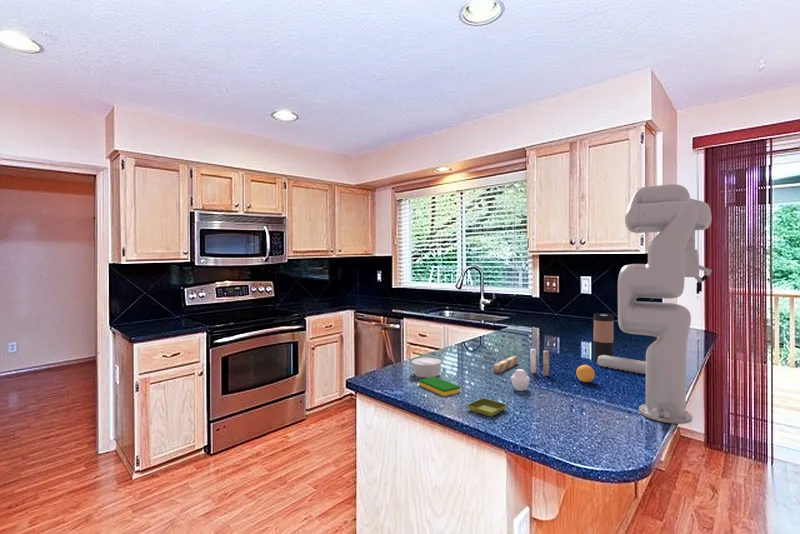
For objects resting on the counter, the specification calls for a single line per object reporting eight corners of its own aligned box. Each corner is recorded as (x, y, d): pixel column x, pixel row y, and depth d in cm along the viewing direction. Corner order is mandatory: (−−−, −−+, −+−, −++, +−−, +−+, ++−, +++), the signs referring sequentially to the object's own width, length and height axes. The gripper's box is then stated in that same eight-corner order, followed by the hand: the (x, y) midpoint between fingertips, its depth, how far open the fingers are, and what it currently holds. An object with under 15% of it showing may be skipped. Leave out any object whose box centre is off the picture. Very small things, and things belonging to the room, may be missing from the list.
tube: (594, 357, 167) (665, 369, 148) (599, 351, 170) (669, 362, 152) (596, 369, 168) (666, 382, 150) (601, 362, 171) (670, 374, 153)
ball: (592, 385, 142) (592, 368, 142) (574, 382, 146) (574, 365, 146) (596, 381, 147) (596, 364, 147) (579, 378, 151) (579, 362, 151)
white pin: (534, 373, 157) (534, 350, 157) (529, 372, 158) (529, 349, 158) (536, 372, 159) (536, 349, 158) (531, 371, 160) (531, 348, 160)
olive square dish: (466, 411, 120) (466, 404, 120) (483, 404, 126) (483, 397, 126) (491, 420, 114) (491, 412, 114) (508, 411, 120) (508, 404, 120)
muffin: (521, 385, 143) (522, 365, 143) (533, 390, 137) (533, 370, 137) (506, 387, 141) (506, 367, 141) (518, 393, 135) (518, 372, 135)
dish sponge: (444, 397, 133) (444, 390, 133) (418, 386, 144) (418, 379, 144) (460, 393, 136) (460, 386, 136) (434, 383, 148) (434, 376, 148)
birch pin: (547, 375, 154) (547, 352, 154) (542, 375, 155) (542, 351, 155) (549, 374, 156) (549, 351, 155) (544, 373, 157) (544, 350, 157)
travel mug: (589, 360, 177) (589, 313, 176) (601, 358, 180) (602, 312, 180) (604, 364, 170) (605, 316, 170) (617, 362, 173) (617, 314, 173)
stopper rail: (498, 373, 158) (498, 365, 158) (493, 372, 159) (493, 364, 159) (517, 363, 172) (517, 356, 172) (513, 362, 173) (513, 355, 173)
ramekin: (409, 378, 153) (409, 363, 153) (415, 369, 164) (415, 356, 164) (439, 380, 150) (439, 365, 150) (443, 371, 161) (443, 358, 161)
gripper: (653, 246, 152) (652, 292, 152) (711, 245, 141) (711, 295, 141) (655, 246, 158) (655, 291, 158) (712, 245, 147) (711, 293, 147)
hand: (681, 292), depth 150 cm, fingers open, 9 cm apart
